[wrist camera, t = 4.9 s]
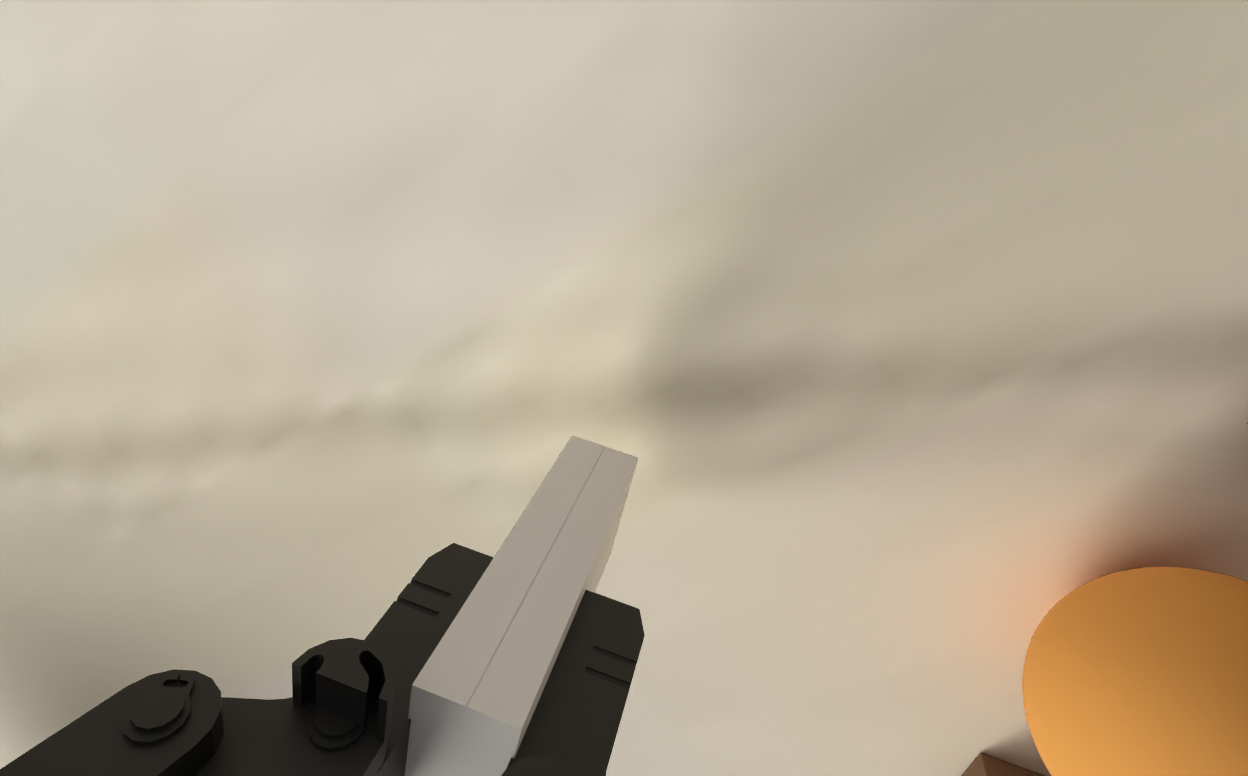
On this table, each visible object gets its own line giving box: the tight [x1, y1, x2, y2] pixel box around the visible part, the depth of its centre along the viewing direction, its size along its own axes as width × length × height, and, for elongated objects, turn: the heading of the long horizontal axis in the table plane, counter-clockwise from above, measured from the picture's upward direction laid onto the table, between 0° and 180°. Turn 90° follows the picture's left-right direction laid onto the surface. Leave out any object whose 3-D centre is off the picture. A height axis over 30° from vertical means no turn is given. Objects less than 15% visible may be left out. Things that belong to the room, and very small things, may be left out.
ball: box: [1022, 567, 1248, 776], centre depth 12 cm, size 6×6×6 cm
